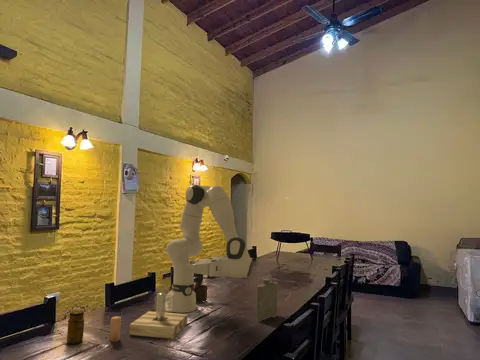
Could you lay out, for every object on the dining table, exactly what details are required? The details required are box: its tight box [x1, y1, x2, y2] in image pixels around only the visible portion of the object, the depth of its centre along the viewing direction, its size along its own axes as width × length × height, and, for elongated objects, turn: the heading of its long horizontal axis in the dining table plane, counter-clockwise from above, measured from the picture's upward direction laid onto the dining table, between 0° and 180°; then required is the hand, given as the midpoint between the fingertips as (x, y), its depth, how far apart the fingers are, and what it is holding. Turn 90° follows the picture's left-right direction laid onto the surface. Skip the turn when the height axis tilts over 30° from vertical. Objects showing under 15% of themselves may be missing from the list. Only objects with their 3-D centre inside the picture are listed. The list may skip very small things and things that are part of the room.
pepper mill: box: [194, 273, 213, 304], centre depth 216 cm, size 16×11×18 cm
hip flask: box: [255, 278, 279, 321], centre depth 185 cm, size 16×4×20 cm, turn 138°
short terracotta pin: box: [109, 316, 122, 343], centre depth 149 cm, size 4×4×9 cm
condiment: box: [61, 310, 89, 348], centre depth 145 cm, size 7×8×12 cm
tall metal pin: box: [155, 292, 167, 321], centre depth 164 cm, size 4×4×16 cm
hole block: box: [129, 310, 189, 339], centre depth 164 cm, size 20×20×4 cm
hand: (188, 264), depth 164 cm, fingers open, 8 cm apart
